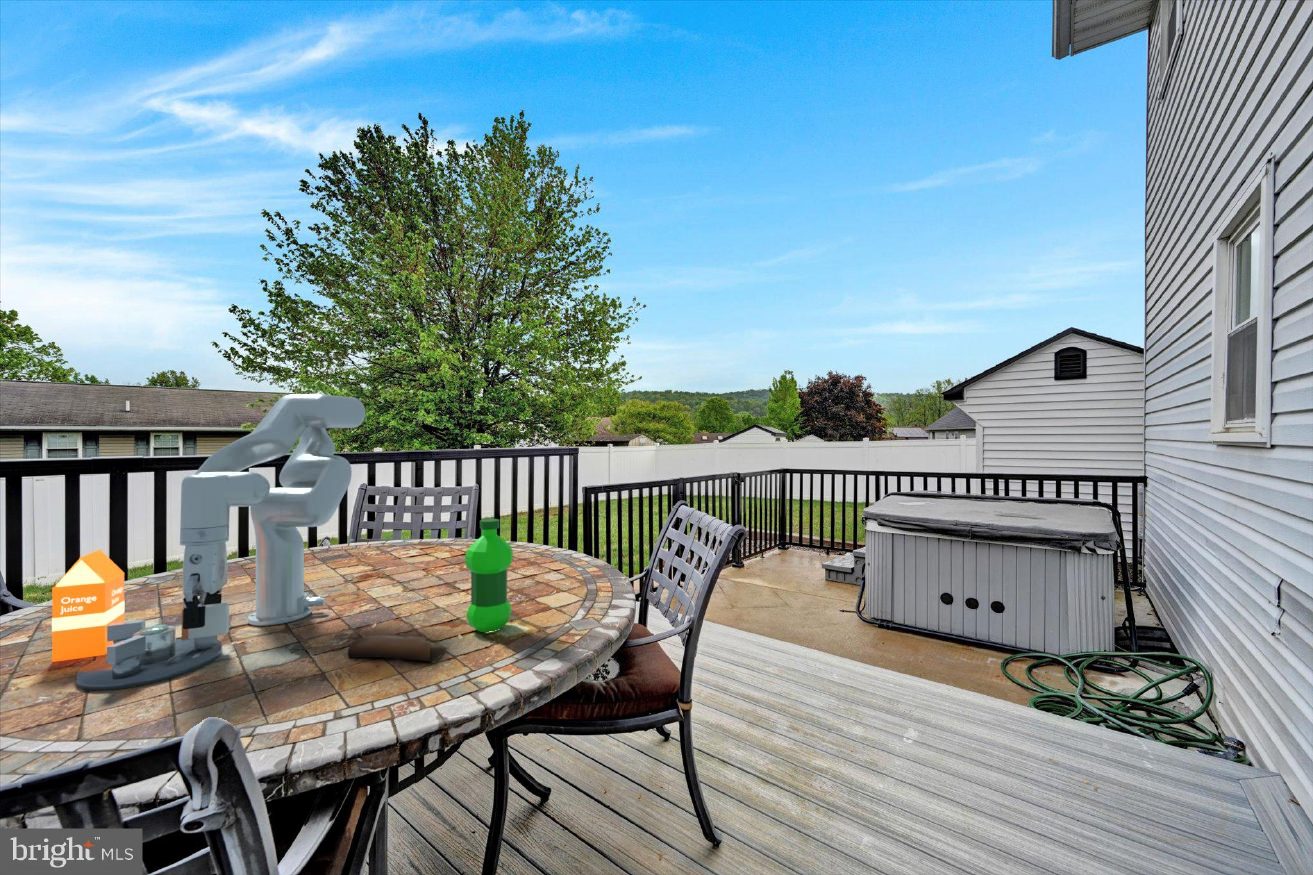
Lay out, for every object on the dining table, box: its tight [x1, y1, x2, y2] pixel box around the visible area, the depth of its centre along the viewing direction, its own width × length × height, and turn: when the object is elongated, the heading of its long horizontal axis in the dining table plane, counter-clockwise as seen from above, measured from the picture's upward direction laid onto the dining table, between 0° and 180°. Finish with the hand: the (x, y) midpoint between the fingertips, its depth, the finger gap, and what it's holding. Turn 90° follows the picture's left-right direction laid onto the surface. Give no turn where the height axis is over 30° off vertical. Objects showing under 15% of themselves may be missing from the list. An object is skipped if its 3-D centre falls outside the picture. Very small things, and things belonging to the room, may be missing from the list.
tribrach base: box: [76, 619, 223, 692], centre depth 100 cm, size 20×20×8 cm
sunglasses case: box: [347, 634, 449, 664], centre depth 106 cm, size 18×7×7 cm, turn 82°
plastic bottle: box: [464, 518, 514, 632], centre depth 119 cm, size 10×10×25 cm
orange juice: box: [51, 549, 125, 663], centre depth 107 cm, size 8×9×20 cm
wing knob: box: [181, 601, 230, 649], centre depth 106 cm, size 7×4×8 cm, turn 116°
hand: (202, 620), depth 105 cm, fingers open, 9 cm apart
